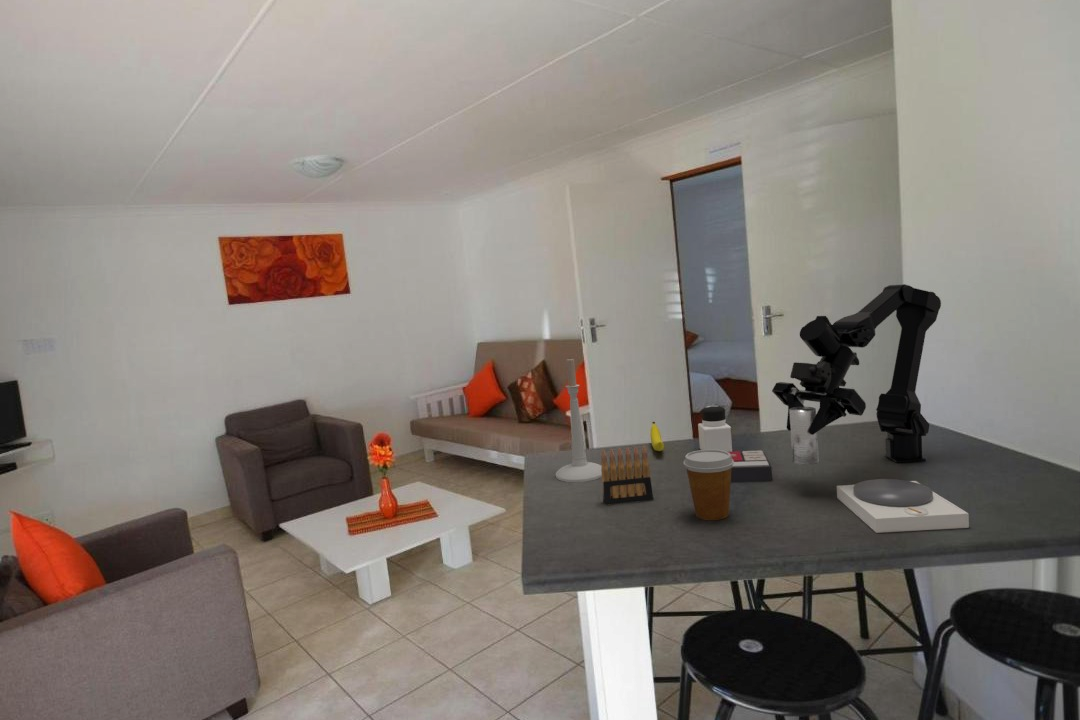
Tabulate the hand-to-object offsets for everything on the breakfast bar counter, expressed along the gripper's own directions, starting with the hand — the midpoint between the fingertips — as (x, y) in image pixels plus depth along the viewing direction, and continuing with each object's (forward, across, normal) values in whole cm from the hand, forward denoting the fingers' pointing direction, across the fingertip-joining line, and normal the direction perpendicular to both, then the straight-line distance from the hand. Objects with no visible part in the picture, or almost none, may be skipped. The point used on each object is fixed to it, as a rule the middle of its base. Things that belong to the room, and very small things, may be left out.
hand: (799, 431), depth 128 cm
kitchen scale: (+7, +17, +12) cm, 22 cm away
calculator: (+7, -19, +13) cm, 24 cm away
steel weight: (+4, 0, +6) cm, 7 cm away
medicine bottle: (+1, -37, +19) cm, 42 cm away
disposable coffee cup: (+24, -5, -5) cm, 25 cm away
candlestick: (+27, -47, -8) cm, 55 cm away
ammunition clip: (+29, -23, -10) cm, 38 cm away
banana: (+8, -49, +12) cm, 51 cm away
